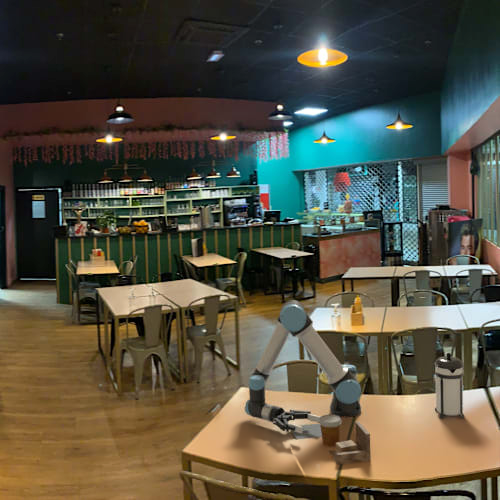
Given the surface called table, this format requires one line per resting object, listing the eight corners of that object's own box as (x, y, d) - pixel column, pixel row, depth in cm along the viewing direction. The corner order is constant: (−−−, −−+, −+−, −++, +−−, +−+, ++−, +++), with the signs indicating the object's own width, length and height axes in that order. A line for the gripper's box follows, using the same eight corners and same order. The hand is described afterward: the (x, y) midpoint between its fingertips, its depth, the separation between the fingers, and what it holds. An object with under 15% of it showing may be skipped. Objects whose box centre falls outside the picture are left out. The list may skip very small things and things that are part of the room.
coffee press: (474, 414, 261) (473, 352, 258) (453, 423, 252) (452, 359, 249) (443, 404, 275) (442, 345, 273) (422, 412, 266) (421, 351, 264)
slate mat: (319, 425, 257) (319, 423, 257) (327, 437, 243) (327, 435, 243) (289, 428, 255) (289, 426, 255) (296, 440, 241) (296, 439, 241)
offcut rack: (359, 449, 230) (359, 421, 229) (370, 463, 217) (370, 434, 216) (328, 452, 228) (327, 424, 227) (337, 467, 216) (336, 437, 214)
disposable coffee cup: (343, 442, 238) (343, 415, 237) (340, 451, 229) (339, 423, 228) (322, 439, 241) (321, 413, 240) (317, 449, 232) (316, 421, 231)
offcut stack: (354, 451, 226) (354, 439, 225) (359, 458, 220) (359, 445, 219) (335, 453, 225) (334, 441, 224) (339, 460, 219) (339, 448, 218)
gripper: (290, 413, 264) (327, 424, 250) (256, 430, 246) (294, 443, 232) (289, 398, 264) (327, 408, 250) (255, 414, 245) (293, 426, 231)
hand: (311, 425), depth 241 cm, fingers open, 13 cm apart
